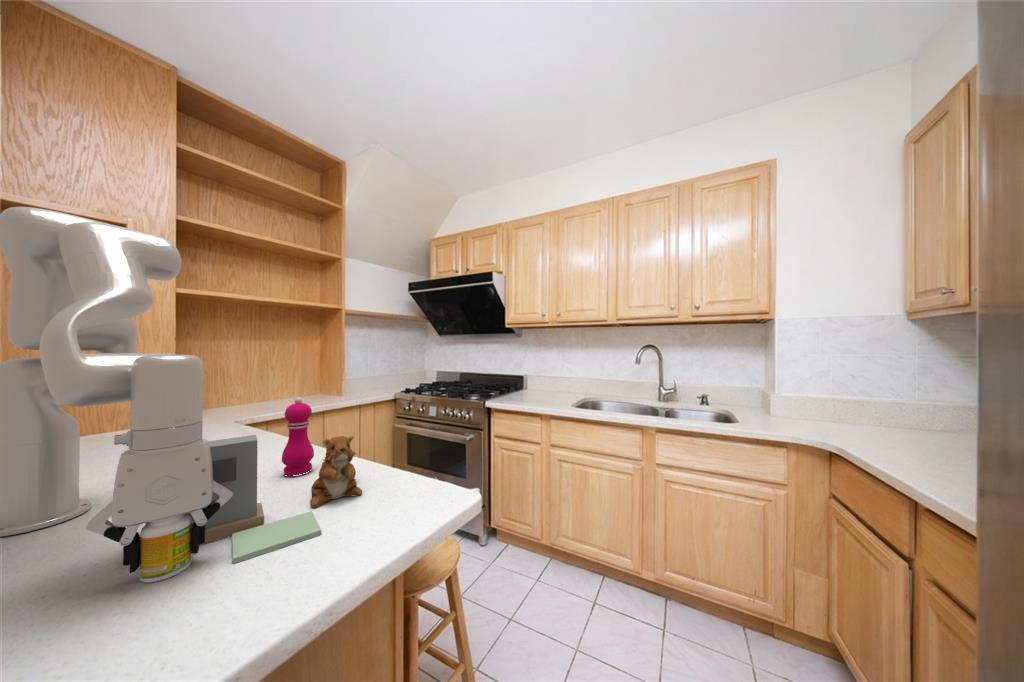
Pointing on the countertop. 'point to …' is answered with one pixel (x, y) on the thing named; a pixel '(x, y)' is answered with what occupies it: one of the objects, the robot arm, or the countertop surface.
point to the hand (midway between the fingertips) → (166, 557)
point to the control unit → (234, 487)
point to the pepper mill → (297, 440)
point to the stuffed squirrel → (335, 472)
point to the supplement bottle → (165, 547)
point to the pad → (273, 536)
